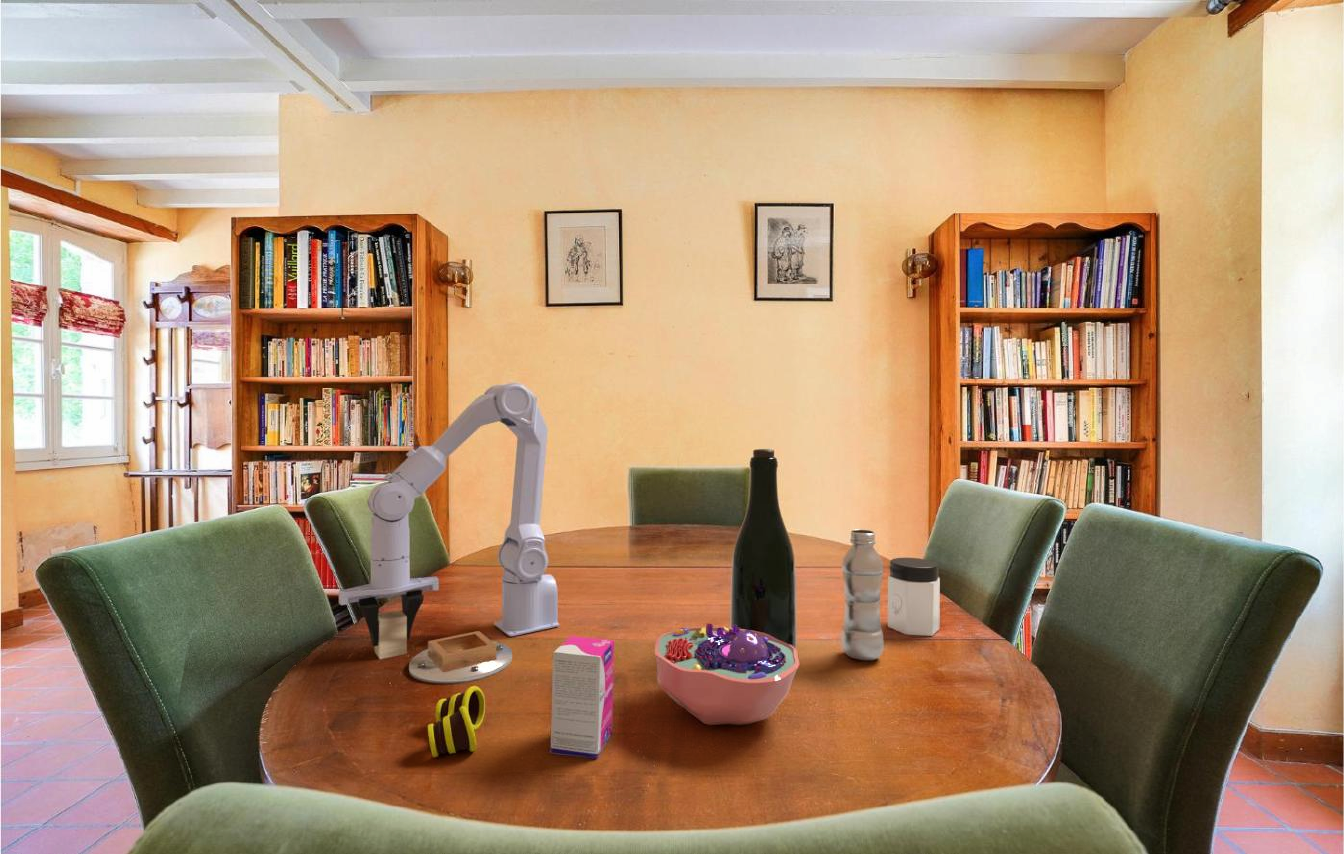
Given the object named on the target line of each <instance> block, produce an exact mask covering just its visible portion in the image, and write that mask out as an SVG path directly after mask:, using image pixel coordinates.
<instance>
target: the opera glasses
mask: <svg viewBox="0 0 1344 854" xmlns="http://www.w3.org/2000/svg"><path fill="white" fill-rule="evenodd" d="M485 699H486V697H485V695H484V691H482V689H481V688H480V687H478V686H476V685H472V686H469V687H468V688H467V689H466V691H465V692H458V693H456V694H453V695H452V696H450V697H447V698H441V699H439V700H438V701H437V703H436V706H435V707H436V708H435V722H436V724H434V723H429V724H428V725H427V733H428V734H427V735H428V741H429V747H430V751H431V755H432V758H437V757H439V755H440V754H442V755H445V754H446V753H448V754H451V755H452V754H456V753H457V751H463V750H469V751H470V752H472V753H473V752H475V750H476V749H477V740H476V734H475V731H476V730H478V728H479V727H480V726H481V725H482V723H483V721H484V718H485V711H486V710H485V709H486V700H485Z"/></svg>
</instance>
